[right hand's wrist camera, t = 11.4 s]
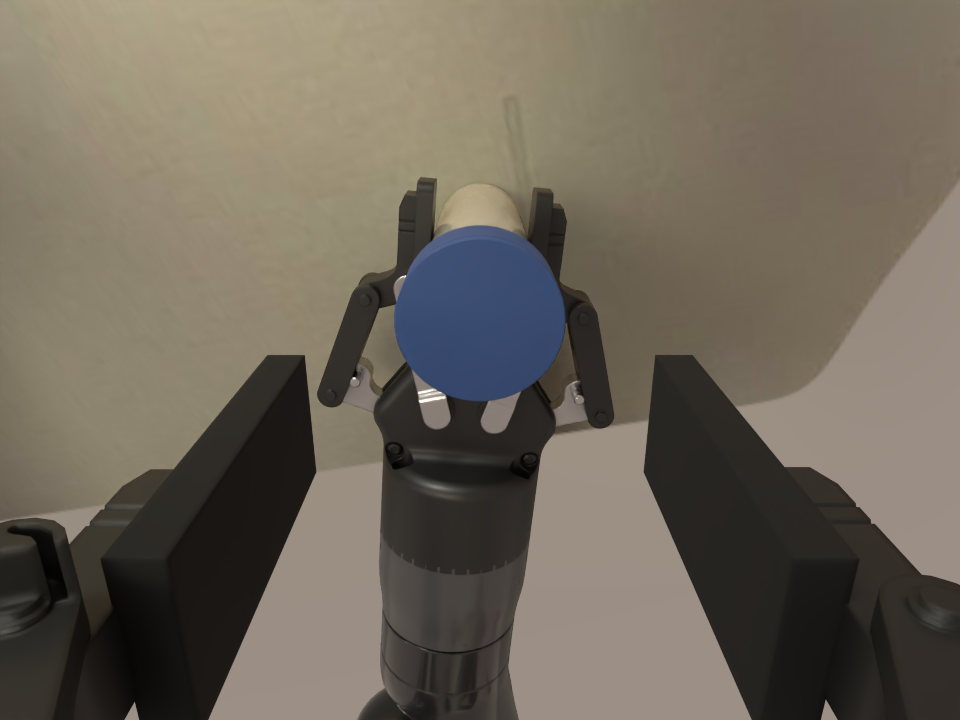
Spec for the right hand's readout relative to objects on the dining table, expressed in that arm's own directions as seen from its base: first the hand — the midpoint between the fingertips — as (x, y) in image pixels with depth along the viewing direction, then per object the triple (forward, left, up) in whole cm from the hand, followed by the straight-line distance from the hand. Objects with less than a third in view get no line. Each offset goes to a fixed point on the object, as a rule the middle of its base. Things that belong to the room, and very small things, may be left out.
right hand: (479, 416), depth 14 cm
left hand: (-1, +3, -16) cm, 16 cm away
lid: (0, 0, -6) cm, 6 cm away
